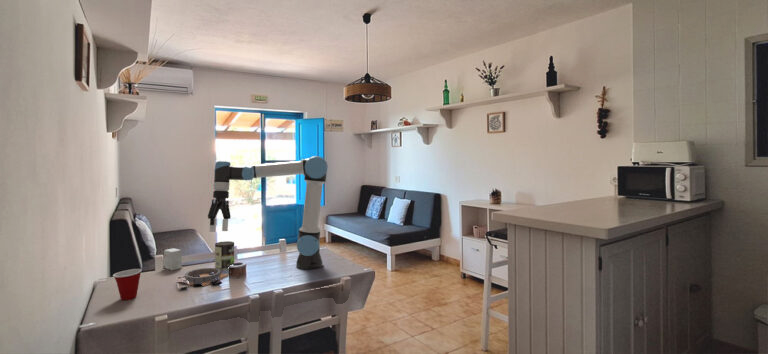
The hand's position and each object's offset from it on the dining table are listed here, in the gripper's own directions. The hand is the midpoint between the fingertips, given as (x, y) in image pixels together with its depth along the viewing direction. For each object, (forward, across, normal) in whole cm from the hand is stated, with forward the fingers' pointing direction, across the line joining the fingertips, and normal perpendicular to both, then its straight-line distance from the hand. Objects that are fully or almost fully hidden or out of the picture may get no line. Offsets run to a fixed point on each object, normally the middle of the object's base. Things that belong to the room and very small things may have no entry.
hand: (218, 231), depth 198 cm
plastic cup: (+29, +25, -28) cm, 48 cm away
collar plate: (+25, -2, -8) cm, 26 cm away
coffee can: (+21, -23, -6) cm, 32 cm away
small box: (+22, -19, -34) cm, 45 cm away
